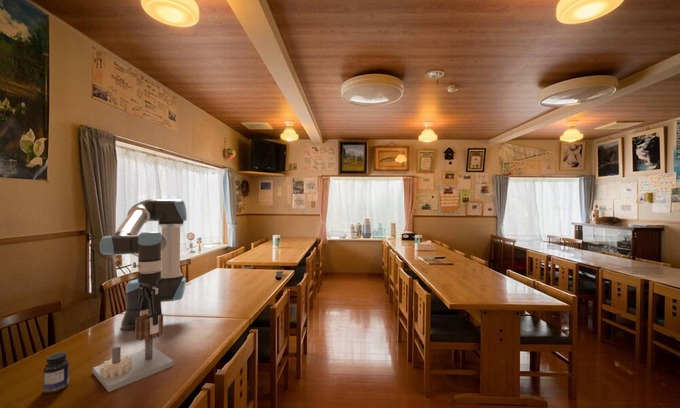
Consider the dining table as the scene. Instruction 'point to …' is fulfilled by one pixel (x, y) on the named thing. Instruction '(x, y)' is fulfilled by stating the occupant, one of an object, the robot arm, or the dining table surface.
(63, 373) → the pill bottle
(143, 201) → the robot arm
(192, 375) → the dining table surface
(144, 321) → the walnut gear
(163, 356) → the gear board
